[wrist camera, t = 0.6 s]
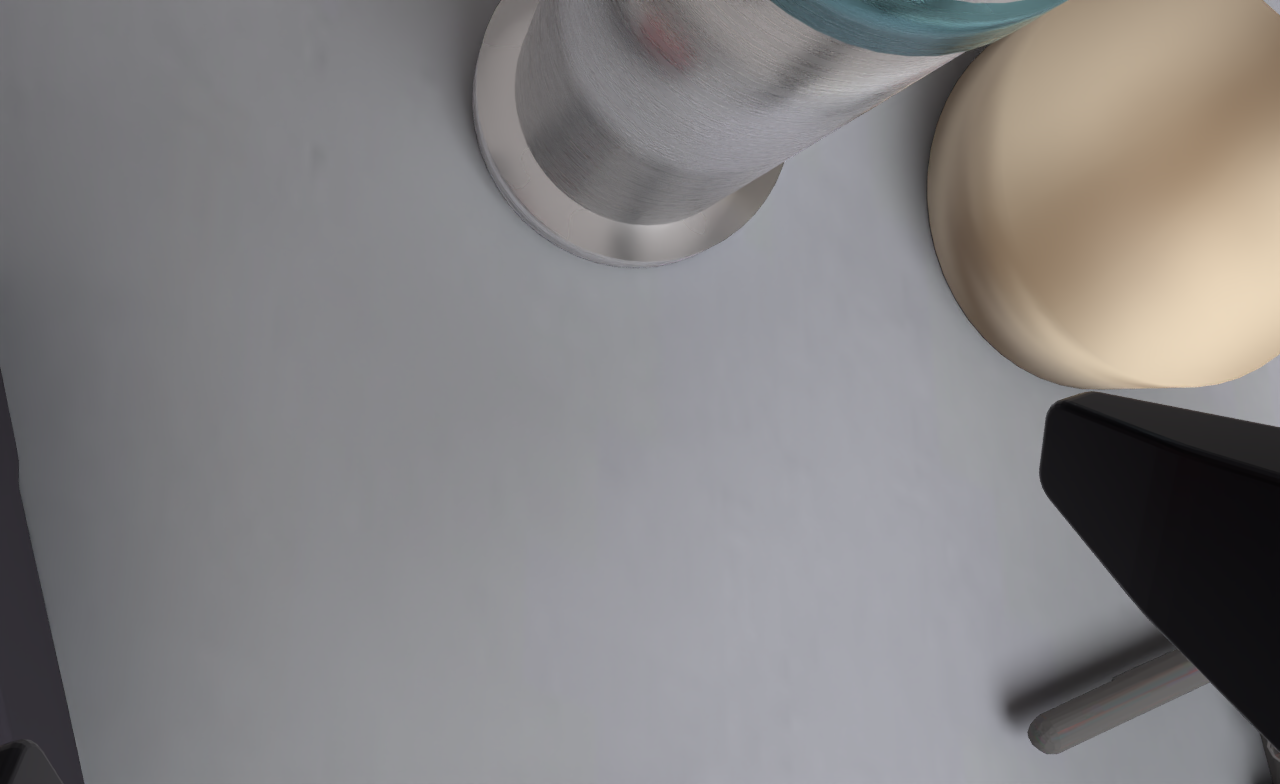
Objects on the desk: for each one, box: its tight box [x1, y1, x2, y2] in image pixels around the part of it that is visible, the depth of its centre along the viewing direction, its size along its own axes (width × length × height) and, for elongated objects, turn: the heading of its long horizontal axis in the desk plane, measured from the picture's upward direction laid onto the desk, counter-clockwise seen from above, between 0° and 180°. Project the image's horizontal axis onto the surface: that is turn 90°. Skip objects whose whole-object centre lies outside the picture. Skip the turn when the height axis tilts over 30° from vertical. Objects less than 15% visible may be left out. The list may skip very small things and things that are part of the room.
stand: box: [927, 0, 1280, 389], centre depth 24 cm, size 10×10×3 cm
